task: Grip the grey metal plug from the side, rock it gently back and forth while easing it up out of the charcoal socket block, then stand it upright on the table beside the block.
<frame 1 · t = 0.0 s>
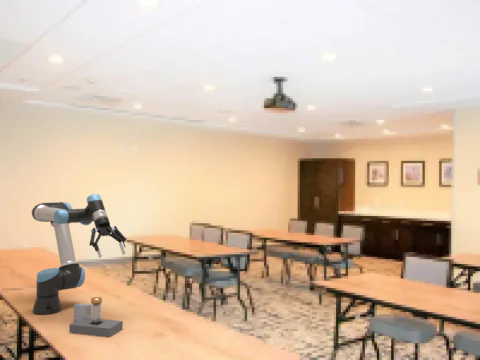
hand: (113, 255, 228), 36 cm above the table, tool tilted 35°, fingers open, 13 cm apart
socket block: (96, 330, 218), on the table
medicine box: (82, 321, 234), on the table
plug: (96, 314, 218), in the socket block
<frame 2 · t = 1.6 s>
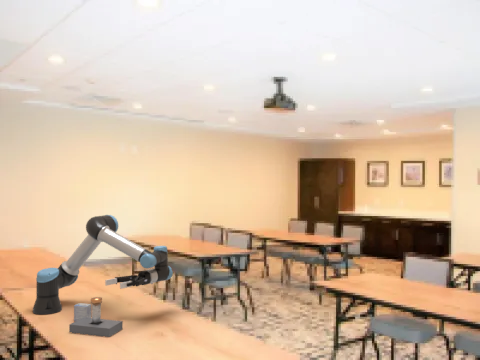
hand: (112, 284, 225), 21 cm above the table, tool horizontal, fingers open, 13 cm apart
nothing on the table moved.
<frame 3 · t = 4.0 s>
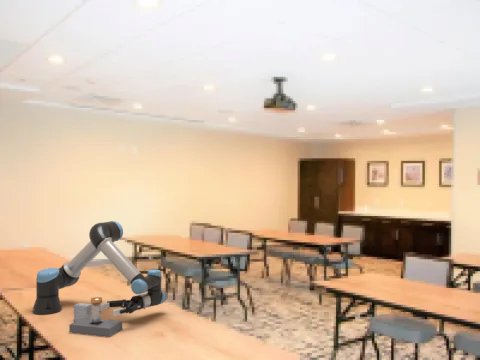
hand: (105, 310, 221), 9 cm above the table, tool horizontal, fingers open, 13 cm apart
nothing on the table moved.
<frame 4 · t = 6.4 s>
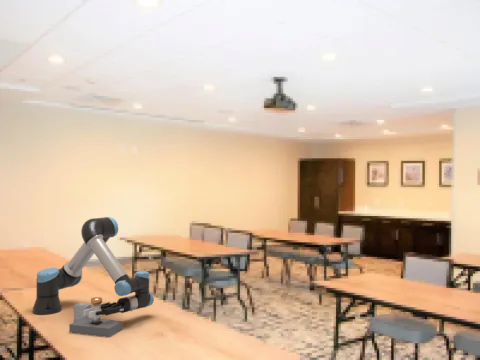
hand: (86, 314, 214), 10 cm above the table, tool horizontal, fingers closed on plug, 4 cm apart
plug: (96, 314, 218), in the socket block, touching gripper
everything else where it was.
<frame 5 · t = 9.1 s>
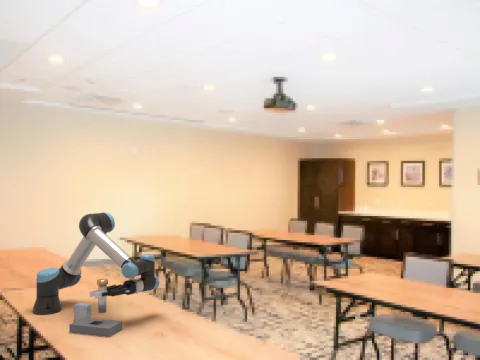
hand: (92, 294, 215), 18 cm above the table, tool horizontal, fingers closed on plug, 4 cm apart
plug: (102, 295, 219), point 17 cm above the table, touching gripper
everything else where it was.
when the fingers open (11 cm above the table, at t = 11.8 s): plug drops 1 cm, on the table.
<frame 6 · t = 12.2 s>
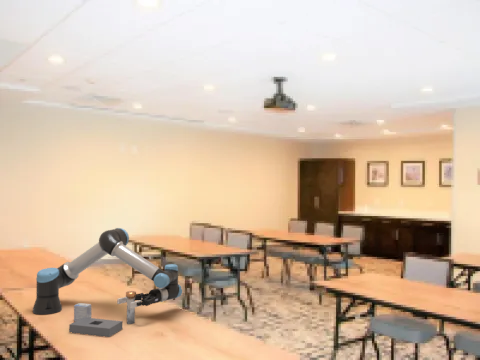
hand: (124, 303, 228), 11 cm above the table, tool horizontal, fingers open, 10 cm apart
plug: (130, 307, 231), on the table
everything else where it was.
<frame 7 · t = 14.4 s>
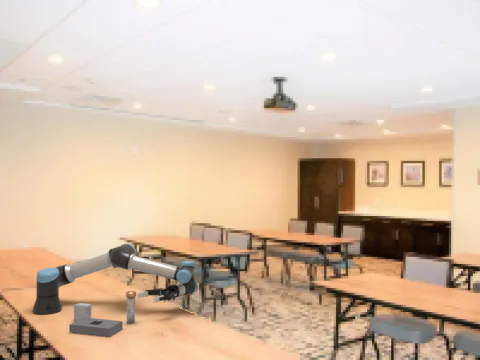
hand: (145, 297, 238), 11 cm above the table, tool horizontal, fingers open, 13 cm apart
nothing on the table moved.
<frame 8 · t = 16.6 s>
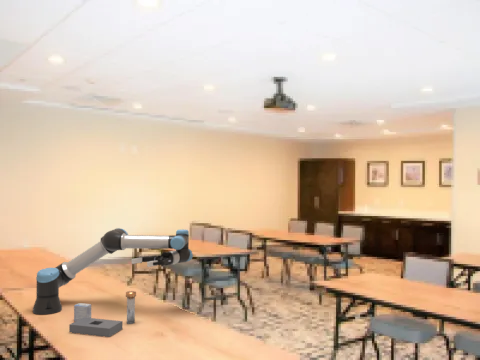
hand: (139, 262, 239), 30 cm above the table, tool horizontal, fingers open, 13 cm apart
nothing on the table moved.
at the end: plug inside the target area (0.0 cm from its centre), on the table; plug tilted 0°; the gripper is holding nothing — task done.
